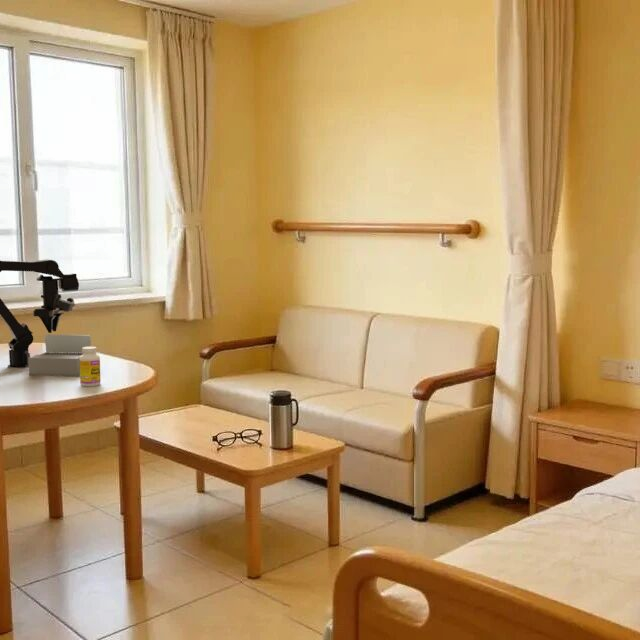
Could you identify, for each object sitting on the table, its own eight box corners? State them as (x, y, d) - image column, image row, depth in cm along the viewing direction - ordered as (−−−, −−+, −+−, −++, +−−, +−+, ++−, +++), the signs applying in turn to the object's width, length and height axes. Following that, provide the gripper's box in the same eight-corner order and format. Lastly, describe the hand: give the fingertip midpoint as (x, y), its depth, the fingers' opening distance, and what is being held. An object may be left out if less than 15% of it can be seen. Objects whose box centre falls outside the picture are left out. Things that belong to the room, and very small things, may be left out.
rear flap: (44, 334, 291) (48, 332, 294) (46, 352, 292) (50, 349, 296) (90, 335, 289) (93, 332, 293) (91, 352, 291) (95, 350, 294)
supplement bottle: (91, 387, 260) (90, 349, 258) (76, 385, 262) (74, 348, 261) (104, 383, 266) (103, 346, 264) (89, 382, 268) (88, 345, 267)
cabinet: (29, 375, 279) (28, 357, 279) (46, 367, 293) (45, 351, 292) (77, 376, 278) (76, 358, 277) (92, 368, 291) (91, 352, 291)
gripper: (60, 294, 291) (62, 336, 293) (80, 290, 309) (81, 329, 311) (31, 294, 292) (33, 335, 294) (53, 289, 310) (55, 328, 312)
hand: (52, 332), depth 303 cm, fingers open, 4 cm apart
